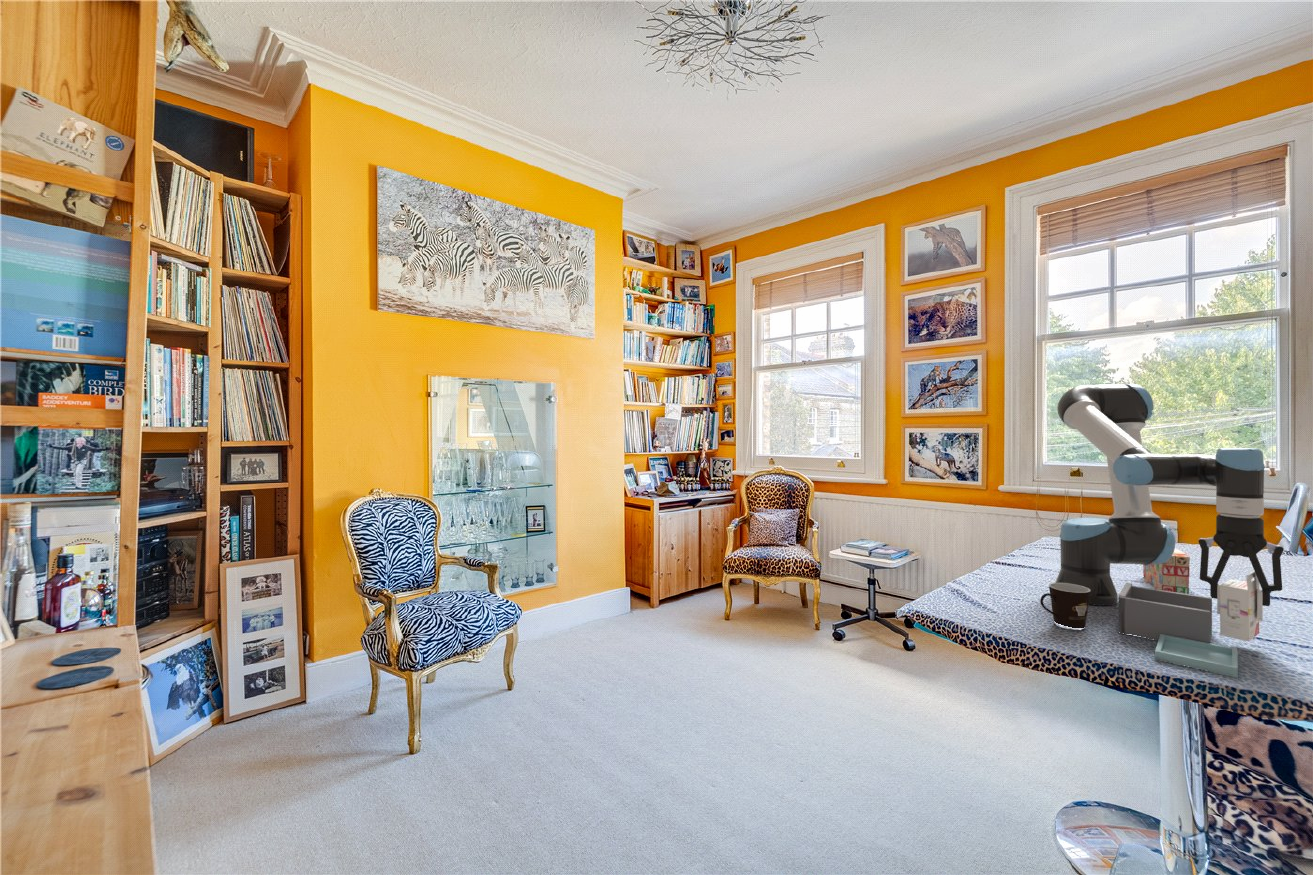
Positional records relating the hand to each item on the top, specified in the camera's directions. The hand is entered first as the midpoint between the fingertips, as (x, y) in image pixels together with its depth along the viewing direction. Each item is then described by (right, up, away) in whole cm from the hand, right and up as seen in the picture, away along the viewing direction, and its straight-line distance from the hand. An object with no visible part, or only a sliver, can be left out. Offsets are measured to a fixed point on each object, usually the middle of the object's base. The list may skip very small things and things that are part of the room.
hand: (1239, 615), depth 128 cm
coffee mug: (-29, -8, +16) cm, 34 cm away
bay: (-9, -7, +9) cm, 15 cm away
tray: (-15, -8, -5) cm, 17 cm away
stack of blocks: (+26, -6, +47) cm, 54 cm away
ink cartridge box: (0, -5, 0) cm, 5 cm away
